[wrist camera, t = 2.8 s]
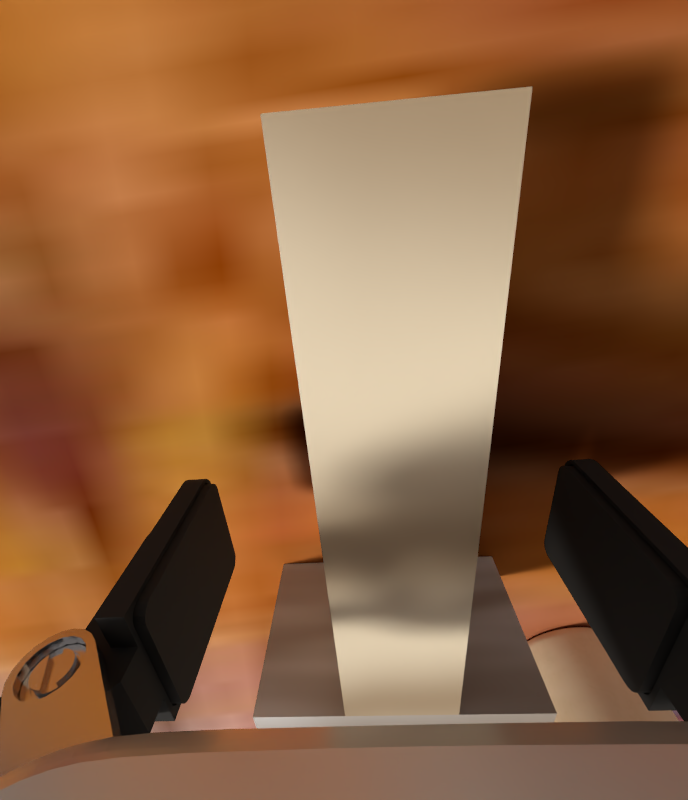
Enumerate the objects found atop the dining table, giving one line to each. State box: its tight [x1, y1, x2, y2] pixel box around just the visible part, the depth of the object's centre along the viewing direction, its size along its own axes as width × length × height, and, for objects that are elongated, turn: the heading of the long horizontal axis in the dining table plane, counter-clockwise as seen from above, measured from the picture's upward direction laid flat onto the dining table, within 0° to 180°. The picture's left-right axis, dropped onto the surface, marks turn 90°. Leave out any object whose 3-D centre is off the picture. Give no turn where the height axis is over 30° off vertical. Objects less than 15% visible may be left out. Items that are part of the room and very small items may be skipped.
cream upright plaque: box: [253, 86, 557, 728], centre depth 9 cm, size 14×8×5 cm, turn 4°
